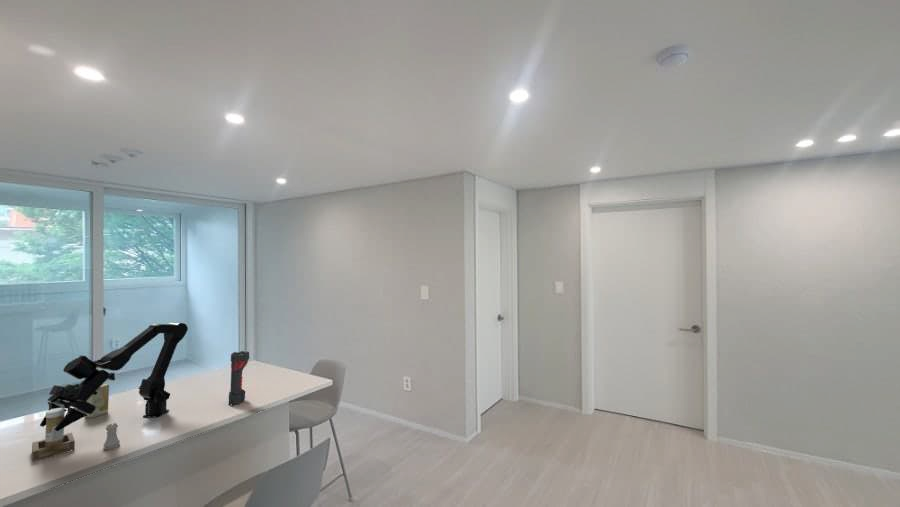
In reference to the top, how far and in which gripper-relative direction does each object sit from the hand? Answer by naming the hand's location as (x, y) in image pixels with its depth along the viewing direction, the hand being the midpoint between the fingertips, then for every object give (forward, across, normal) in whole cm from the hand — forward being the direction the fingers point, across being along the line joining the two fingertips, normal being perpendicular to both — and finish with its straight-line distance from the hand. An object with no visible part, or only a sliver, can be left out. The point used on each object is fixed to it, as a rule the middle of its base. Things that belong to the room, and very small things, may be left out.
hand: (48, 428), depth 125 cm
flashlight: (-34, +21, +46) cm, 61 cm away
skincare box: (-11, -23, +23) cm, 35 cm away
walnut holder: (+5, 0, +7) cm, 8 cm away
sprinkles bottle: (+4, 0, +7) cm, 8 cm away
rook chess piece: (-1, +16, +13) cm, 21 cm away
